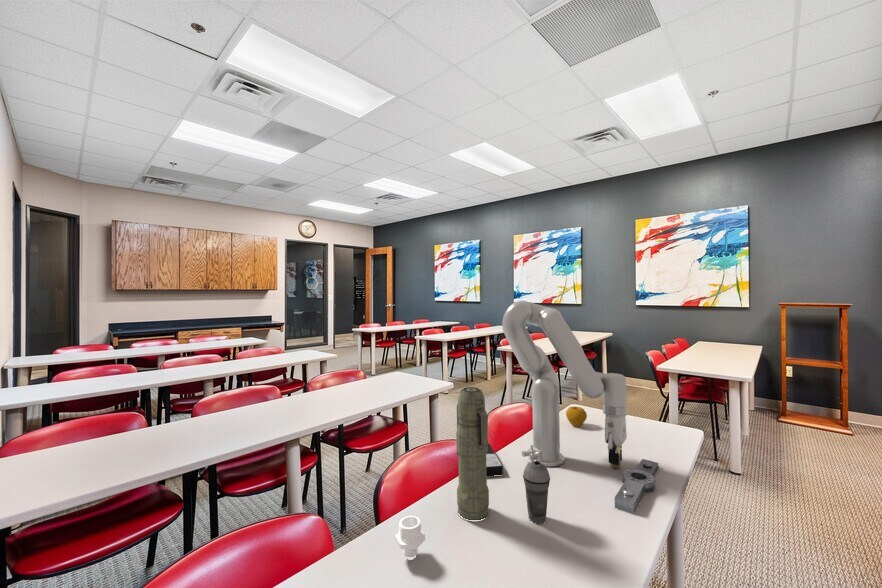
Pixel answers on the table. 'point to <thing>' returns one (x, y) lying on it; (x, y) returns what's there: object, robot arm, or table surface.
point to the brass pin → (619, 461)
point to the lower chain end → (649, 468)
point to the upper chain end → (632, 490)
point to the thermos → (472, 454)
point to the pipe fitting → (410, 535)
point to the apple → (576, 416)
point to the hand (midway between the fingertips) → (615, 461)
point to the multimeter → (492, 463)
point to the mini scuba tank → (536, 490)
